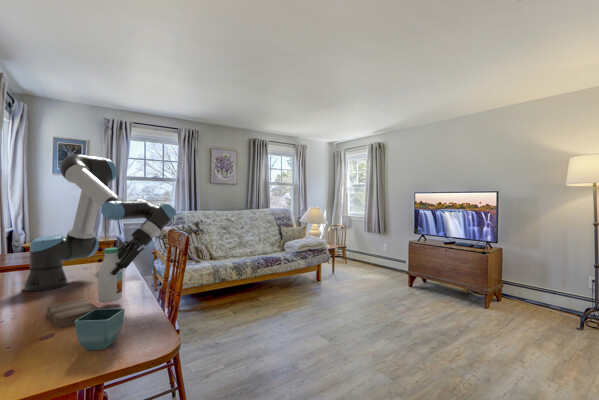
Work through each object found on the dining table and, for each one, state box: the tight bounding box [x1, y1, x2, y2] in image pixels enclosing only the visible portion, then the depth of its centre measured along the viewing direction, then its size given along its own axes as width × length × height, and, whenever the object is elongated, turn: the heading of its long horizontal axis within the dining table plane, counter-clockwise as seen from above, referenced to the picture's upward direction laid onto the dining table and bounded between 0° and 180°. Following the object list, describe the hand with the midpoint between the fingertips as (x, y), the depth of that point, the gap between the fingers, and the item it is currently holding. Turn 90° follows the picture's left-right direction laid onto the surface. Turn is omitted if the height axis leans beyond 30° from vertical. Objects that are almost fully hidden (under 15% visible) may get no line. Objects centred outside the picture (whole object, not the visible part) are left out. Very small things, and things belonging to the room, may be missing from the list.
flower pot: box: [74, 307, 126, 351], centre depth 80 cm, size 9×9×9 cm
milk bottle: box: [97, 247, 123, 303], centre depth 110 cm, size 8×8×20 cm
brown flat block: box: [46, 298, 100, 329], centre depth 100 cm, size 16×11×3 cm
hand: (100, 279), depth 108 cm, fingers closed on milk bottle, 7 cm apart
